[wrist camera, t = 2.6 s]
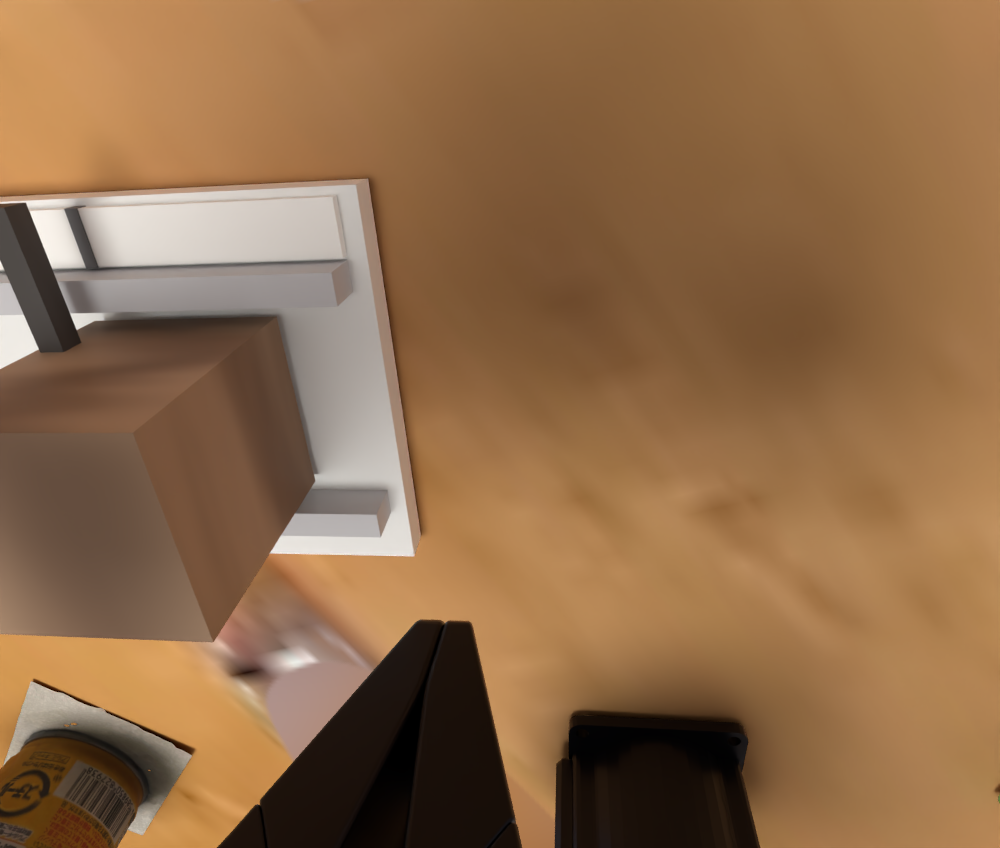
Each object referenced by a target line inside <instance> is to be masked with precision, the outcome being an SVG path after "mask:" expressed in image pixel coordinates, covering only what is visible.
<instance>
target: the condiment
mask: <svg viewBox="0 0 1000 848" xmlns="http://www.w3.org/2000/svg"><path fill="white" fill-rule="evenodd" d="M17 721H18V722H17V724H16V728H15V732H14V736H13V739H12V741H11V744H10V748H9V750H8V754H7V757H6V759H5V761H4V765H3V767H2V768H1V769H0V848H117V847H118V845H119V843H120V841H121V840H122V838H123V836H124V835H125V833H126V832H127V830H130V831H132V832H135V833H138V834H141V835H143V834H144V832H145V831H146V829H147V827H148V826H149V824H150V823H151V821H152V819H153V818H154V816H155V815H156V813H157V811H158V810H159V808H160V806H161V805H162V803H163V801H164V800H165V798H166V797H167V795H168V794H169V792H170V790H171V788H172V787H173V786H174V784H175V782H176V781H177V779H178V777H179V776H180V774H181V773H182V771H183V769H184V768H185V766H186V765H187V763H188V761H189V760H190V758H191V757H192V755H190V754H188V753H187V752H185V751H183V750H181V749H178V748H176V747H175V746H174V745H173V744H172V743H171V742H168V741H165V740H163V739H161V738H160V737H158V736H155V735H154V734H151V733H149V732H146V731H144V730H142V729H141V728H139V727H138V726H136V725H134V724H131V723H129V722H127V721H124V720H122V719H119V718H117V717H115V716H112V715H110V714H108V713H106V711H105V710H104V709H102V708H95V707H92V706H88V705H86V704H83V703H81V702H78V701H76V700H75V699H73V698H71V697H70V696H67V695H65V694H64V693H60V692H55V691H53V690H50V689H48V688H45V687H43V686H41V685H39V684H36V683H34V682H32V681H31V683H30V686H29V689H28V691H27V694H26V698H25V701H24V703H23V705H22V708H21V713H20V715H19V718H18V720H17ZM71 723H77V724H78V725H71ZM64 724H68V725H69V727H65V726H64ZM148 770H151V771H148Z"/></svg>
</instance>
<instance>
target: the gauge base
mask: <svg viewBox="0 0 1000 848" xmlns="http://www.w3.org/2000/svg"><path fill="white" fill-rule="evenodd" d="M6 203H26V204H27V207H28V209H29V212H30V214H31V217H32V219H33V222H34V224H35V227H36V229H37V232H38V234H39V237H40V239H41V242H42V244H43V247H44V249H45V252H46V254H47V257H48V259H49V262H50V265H51V267H52V270H53V272H54V275H55V277H56V280H57V282H58V285H59V287H60V290H61V292H62V295H63V297H64V300H65V302H66V305H67V307H68V310H69V312H70V315H71V317H72V320H73V322H74V325H75V327H76V330H78V329H80V328H82V327H84V326H86V325H88V324H90V323H92V322H94V321H107V320H149V319H190V318H231V317H273V316H277V320H278V325H279V329H280V333H281V337H282V342H283V346H284V350H285V354H286V358H287V363H288V367H289V371H290V375H291V380H292V384H293V388H294V392H295V397H296V401H297V405H298V409H299V413H300V418H301V422H302V426H303V430H304V435H305V439H306V443H307V447H308V452H309V456H310V460H311V464H312V469H313V473H314V477H315V483H314V484H313V486H312V487H311V489H310V491H309V492H308V494H307V495H306V497H305V499H304V500H303V502H302V503H301V505H300V506H299V508H298V510H297V511H296V513H295V514H294V516H293V517H292V519H291V521H290V522H289V524H288V525H287V527H286V528H285V530H284V532H283V533H282V535H281V536H280V538H279V540H278V541H277V543H276V544H275V546H274V547H273V549H272V551H271V552H270V553H280V554H328V555H375V556H415V553H416V550H417V547H418V544H419V541H420V538H421V532H420V526H419V519H418V512H417V505H416V499H415V492H414V485H413V478H412V472H411V465H410V458H409V451H408V445H407V438H406V431H405V424H404V418H403V411H402V404H401V397H400V391H399V384H398V377H397V370H396V364H395V357H394V350H393V343H392V337H391V330H390V323H389V316H388V310H387V303H386V296H385V289H384V283H383V276H382V269H381V262H380V256H379V249H378V242H377V235H376V229H375V222H374V215H373V208H372V202H371V195H370V188H369V181H368V179H349V180H329V181H309V182H289V183H269V184H248V185H228V186H208V187H188V188H168V189H148V190H127V191H107V192H87V193H67V194H47V195H27V196H6V197H0V204H6ZM37 350H39V349H38V346H37V344H36V342H35V339H34V337H33V335H32V333H31V330H30V328H29V326H28V323H27V321H26V319H25V316H24V314H23V312H22V310H21V307H20V305H19V303H18V300H17V298H16V296H15V293H14V291H13V289H12V286H11V284H10V282H9V280H8V277H7V275H6V273H5V270H4V268H3V266H2V263H1V261H0V369H1V368H3V367H5V366H7V365H9V364H11V363H13V362H15V361H17V360H19V359H21V358H23V357H25V356H27V355H29V354H31V353H33V352H35V351H37Z"/></svg>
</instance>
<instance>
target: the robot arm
mask: <svg viewBox="0 0 1000 848" xmlns="http://www.w3.org/2000/svg"><path fill="white" fill-rule="evenodd" d="M747 745H748V738H747V734H746V731H745V728H744V727H743V726H742V725H740V724H737V723H728V722H708V721H688V720H667V719H647V718H626V717H606V716H586V715H580V716H575V717H572V718H571V719H570V721H569V759H565V758H562V759H561V760H560V761H559V762H558V763H557V767H556V814H555V848H760V845H759V841H758V837H757V833H756V829H755V825H754V820H753V816H752V812H751V808H750V804H749V800H748V796H747V792H746V788H745V784H744V780H743V776H742V770H743V765H744V760H745V755H746V750H747ZM217 848H522V845H521V840H520V836H519V831H518V827H517V825H516V821H515V815H514V810H513V806H512V801H511V797H510V792H509V788H508V784H507V779H506V774H505V770H504V765H503V761H502V756H501V752H500V747H499V742H498V738H497V733H496V729H495V724H494V720H493V715H492V711H491V706H490V702H489V697H488V693H487V688H486V684H485V679H484V675H483V670H482V666H481V661H480V657H479V652H478V648H477V643H476V639H475V634H474V630H473V626H472V623H471V622H469V621H447V622H446V623H444V622H443V621H441V620H419V621H417V622H416V623H415V624H414V625H413V626H412V627H411V628H410V629H409V631H408V632H407V633H406V634H405V635H404V636H403V637H402V639H401V640H400V641H399V642H398V643H397V644H396V645H395V647H394V648H393V649H392V650H391V651H390V652H389V653H388V655H387V656H386V657H385V658H384V659H383V660H382V661H381V663H380V664H379V665H378V666H377V667H376V668H375V669H374V671H373V672H372V673H371V674H370V675H369V676H368V677H367V679H366V680H365V681H364V682H363V683H362V684H361V685H360V686H359V688H358V689H357V690H356V691H355V692H354V693H353V694H352V696H351V697H350V698H349V699H348V700H347V702H345V704H344V705H343V706H342V707H341V708H340V709H339V711H338V712H337V713H336V714H335V715H334V716H333V717H332V718H331V720H330V721H329V722H328V723H327V724H326V725H325V726H324V728H323V729H322V730H321V731H320V732H319V733H318V734H317V736H316V737H315V738H314V739H313V740H312V741H311V743H310V744H309V745H308V746H307V747H306V748H305V749H304V750H303V752H302V753H301V754H300V755H299V756H298V757H297V758H296V759H295V761H294V762H293V763H292V764H291V765H290V766H289V767H288V769H287V770H286V771H285V772H284V773H283V774H282V775H281V777H280V778H279V779H278V780H277V781H276V782H275V783H274V785H273V786H272V787H271V788H270V789H269V790H268V791H267V793H266V794H265V795H264V796H263V797H262V798H261V800H260V805H258V804H257V805H255V806H254V807H253V808H252V809H251V810H250V812H249V813H248V814H247V815H246V816H245V817H244V818H243V820H242V821H241V822H240V823H239V824H238V825H237V826H236V828H235V829H234V830H233V831H232V832H231V833H230V834H229V835H228V836H227V837H226V838H225V840H224V841H223V842H222V843H221V844H220V845H219V846H218V847H217Z"/></svg>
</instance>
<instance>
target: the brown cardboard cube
mask: <svg viewBox="0 0 1000 848" xmlns="http://www.w3.org/2000/svg"><path fill="white" fill-rule="evenodd" d="M0 261H1V263H2V266H3V268H4V270H5V273H6V275H7V277H8V280H9V282H10V284H11V286H12V289H13V291H14V293H15V296H16V298H17V300H18V303H19V305H20V307H21V310H22V312H23V314H24V316H25V319H26V321H27V323H28V326H29V328H30V330H31V333H32V335H33V337H34V339H35V342H36V344H37V346H38V349H39V350H37V351H35V352H33V353H31V354H29V355H27V356H25V357H23V358H21V359H19V360H17V361H15V362H13V363H11V364H9V365H7V366H5V367H3V368H1V369H0V634H10V635H36V636H62V637H88V638H114V639H140V640H166V641H192V642H214V640H215V639H216V637H217V636H218V634H219V633H220V631H221V629H222V628H223V626H224V625H225V623H226V622H227V620H228V618H229V617H230V615H231V614H232V612H233V610H234V609H235V607H236V606H237V604H238V603H239V601H240V599H241V598H242V596H243V595H244V593H245V592H246V590H247V588H248V587H249V585H250V584H251V582H252V581H253V579H254V577H255V576H256V574H257V573H258V571H259V569H260V568H261V566H262V565H263V563H264V562H265V560H266V558H267V557H268V555H269V554H270V552H271V551H272V549H273V547H274V546H275V544H276V543H277V541H278V540H279V538H280V536H281V535H282V533H283V532H284V530H285V528H286V527H287V525H288V524H289V522H290V521H291V519H292V517H293V516H294V514H295V513H296V511H297V510H298V508H299V506H300V505H301V503H302V502H303V500H304V499H305V497H306V495H307V494H308V492H309V491H310V489H311V487H312V486H313V484H314V483H315V477H314V473H313V469H312V464H311V460H310V456H309V452H308V447H307V443H306V439H305V435H304V430H303V426H302V422H301V418H300V413H299V409H298V405H297V401H296V397H295V392H294V388H293V384H292V380H291V375H290V371H289V367H288V363H287V358H286V354H285V350H284V346H283V342H282V337H281V333H280V329H279V325H278V320H277V316H273V317H231V318H190V319H149V320H107V321H94V322H92V323H90V324H88V325H86V326H84V327H82V328H80V329H78V330H76V327H75V325H74V322H73V320H72V317H71V315H70V312H69V310H68V307H67V305H66V302H65V300H64V297H63V295H62V292H61V290H60V287H59V285H58V282H57V280H56V277H55V275H54V272H53V270H52V267H51V265H50V262H49V259H48V257H47V254H46V252H45V249H44V247H43V244H42V242H41V239H40V237H39V234H38V232H37V229H36V227H35V224H34V222H33V219H32V217H31V214H30V212H29V209H28V207H27V204H26V203H6V204H0Z"/></svg>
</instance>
